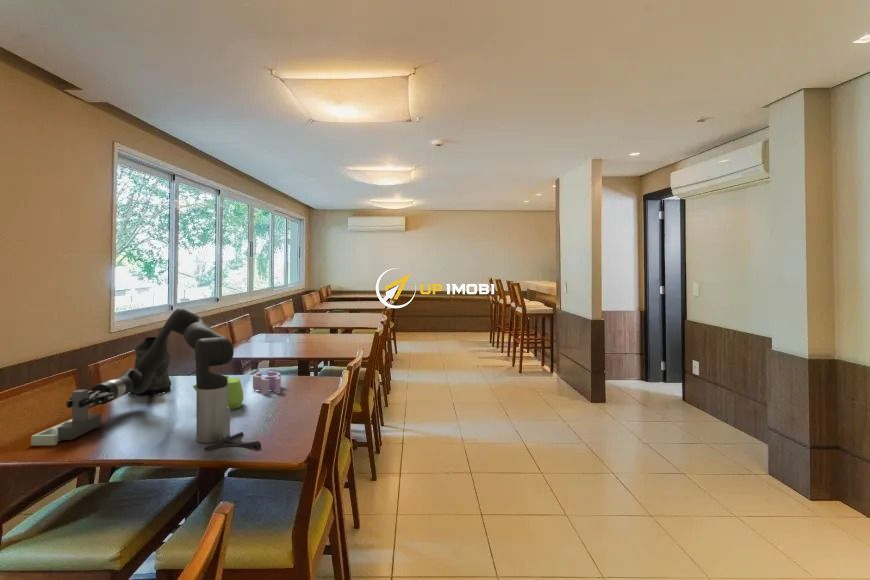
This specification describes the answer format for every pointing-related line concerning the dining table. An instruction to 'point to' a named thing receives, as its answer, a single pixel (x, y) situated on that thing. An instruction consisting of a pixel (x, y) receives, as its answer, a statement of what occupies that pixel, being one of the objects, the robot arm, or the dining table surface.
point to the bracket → (234, 443)
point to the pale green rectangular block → (44, 438)
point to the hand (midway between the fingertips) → (73, 404)
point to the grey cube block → (54, 431)
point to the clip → (267, 382)
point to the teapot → (233, 392)
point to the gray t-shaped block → (79, 419)
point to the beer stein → (161, 376)
